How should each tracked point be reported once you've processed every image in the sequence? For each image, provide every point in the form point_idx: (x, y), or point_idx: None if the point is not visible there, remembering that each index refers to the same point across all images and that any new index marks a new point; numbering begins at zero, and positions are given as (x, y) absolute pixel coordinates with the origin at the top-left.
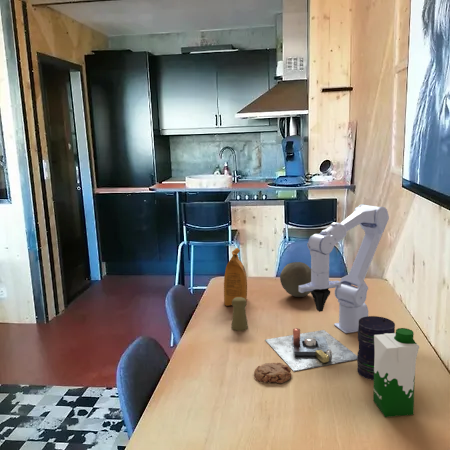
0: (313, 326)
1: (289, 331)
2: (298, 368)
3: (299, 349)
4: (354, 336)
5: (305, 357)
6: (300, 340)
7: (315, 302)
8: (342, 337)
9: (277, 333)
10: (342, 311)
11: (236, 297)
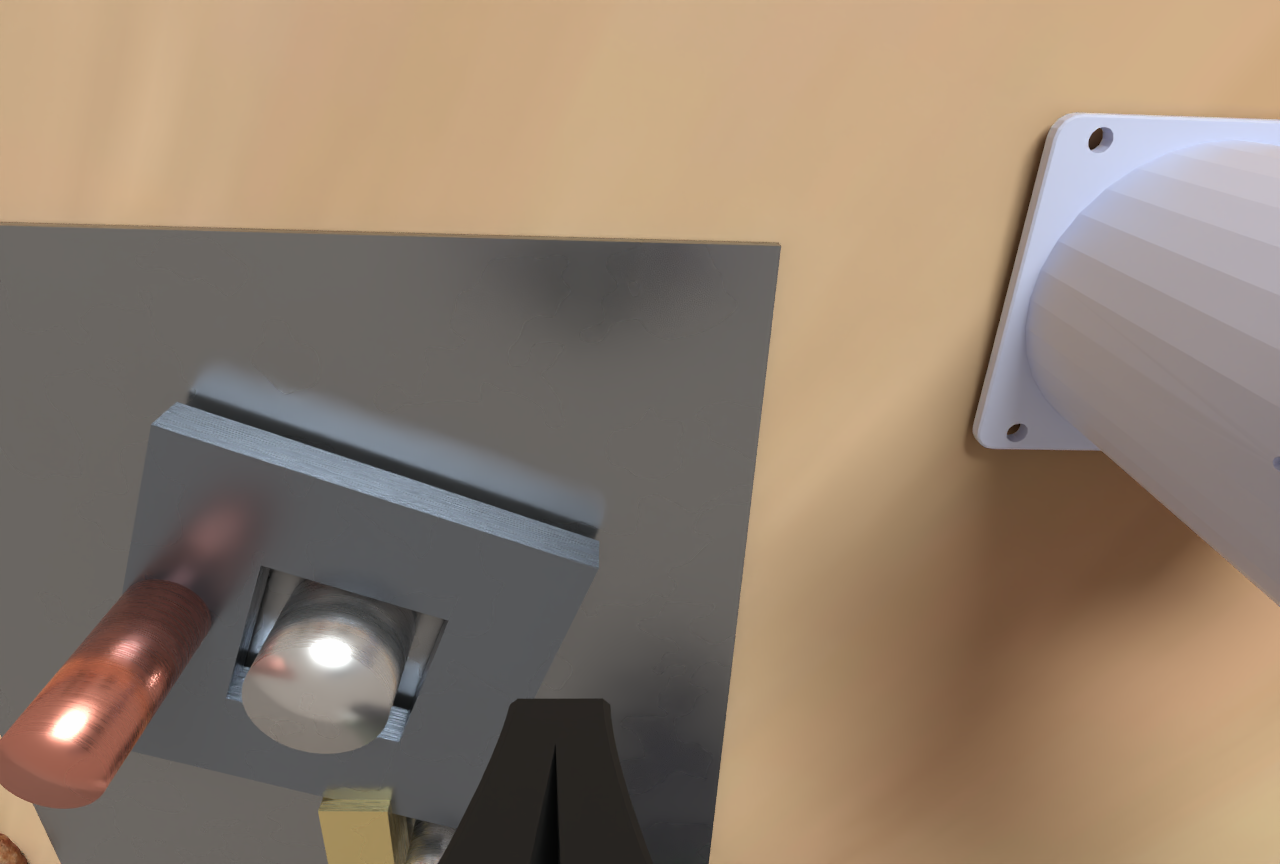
0: (724, 16)
1: (241, 46)
2: (116, 858)
3: (167, 720)
4: (1004, 521)
5: None
6: (242, 558)
7: (462, 859)
8: (862, 498)
9: (8, 40)
10: (1200, 467)
11: None
